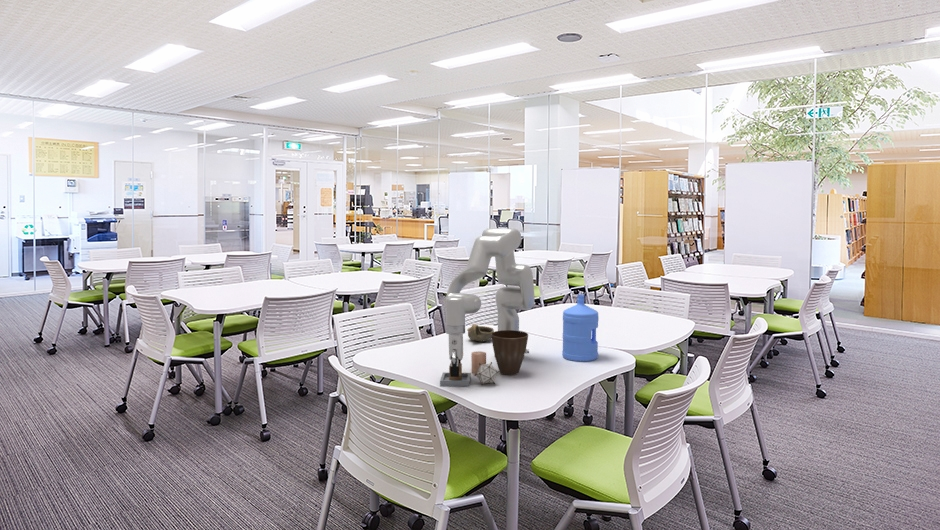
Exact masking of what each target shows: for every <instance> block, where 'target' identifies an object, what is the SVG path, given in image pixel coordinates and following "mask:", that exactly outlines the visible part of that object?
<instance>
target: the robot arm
mask: <svg viewBox="0 0 940 530" xmlns="http://www.w3.org/2000/svg"><path fill="white" fill-rule="evenodd" d="M521 243H522V234H521V232H520V231H519V230H518V229H516V228H506V227H505V228H501V227H493V228H491V227H489V228H486V229H484V230H482V233H481V235H480V236H478V237H477V238H476V239H474V243H473V245H472V248H471V251H470V255H469V257H468V260H467V264H466V266H465V268H463V270H461V272H459V273H458V274H457V275H455V277H454V278H453V279H452V281H451V282H450V284H449V286H448V289H447V293H446V296H445V302H444V304H445V305H444V306H445V307H444V309H445V312H444V313H445V321H444V322H445V334H447V335H448V355H449V356H448V357H449V358H448V359H449V360H450V363H451V366H450V365H449V366H450V376H451V377H459V366H458V363H462V360H463V359H464V336H463V335H464V334H466V315H471V314H475V313H476V314H477V313H478V311H480V310H481V307H482V301H481V298H480V297H479V296H478V295H476V294H471V293H461V291H462V290H463V288H464V287H466V286H467V285H468V284H470V283H472V282H474V281H477V280H479V279H481V278H484V277H485V276H486V275H487V273H488V269H489V266H490V263H491V260H492V258H494V259H495V271H496V279H497V281H498V283H499V284H500V285H503V287H500V288H498V289H497V291H496V293H495V303H496V308H497V309H496V311H497V331H501V330H515V331H520V317H519V314H518V312H517V310H522V311H529V310H531V309H532V308H533V307H534V305H535V301H536V300H535V285H534V275H533V271H532V269H531V267H530V266H529V265H527V264H525V263H524V264H522V263H520V264H519V263H517V262H516V259H515V252H514V251H515V250H517V249H518V248H519V246H520V245H521ZM504 285H505V286H504ZM515 286H516V287H515ZM493 354H494V353H493ZM525 354H530V349H529V348H528V349H527V348H526V351H525ZM494 357H495V354H494Z"/></svg>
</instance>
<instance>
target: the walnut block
mask: <svg viewBox="0 0 940 530" xmlns="http://www.w3.org/2000/svg"><path fill="white" fill-rule="evenodd" d="M462 365H463V364H462V362H461V363H458V366H459V377H451V376H450V366H451V362H450V363H449V366H448V367H449V368H448V369H449V370H448V373H449V380H462V373H463V366H462Z"/></svg>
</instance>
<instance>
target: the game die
mask: <svg viewBox="0 0 940 530" xmlns="http://www.w3.org/2000/svg"><path fill="white" fill-rule="evenodd" d="M479 365H480V367H479V369H478V372H477V374H474V376H475V377H477V378H478V379H479V381H480V382H481V385H480V386H483V385H484V384H491V383H492V384H493V385H495V384H496V383H495V380H496V376H497V375H498V373H500V371H498V370H497V369H496V368H495V367H494V365H493V362H492V361H490V363H486V364H482V365H481V364H480V363H479Z"/></svg>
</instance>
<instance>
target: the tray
mask: <svg viewBox="0 0 940 530" xmlns="http://www.w3.org/2000/svg"><path fill="white" fill-rule="evenodd" d="M471 374H472V372H462V380H449V372H442V375H441V377H440V380H439V387H470V386H471V385H470V384H471V378H472V377H471V376H472V375H471Z"/></svg>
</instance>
